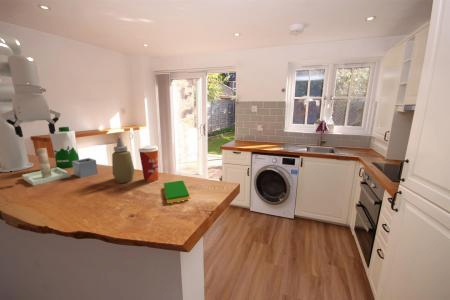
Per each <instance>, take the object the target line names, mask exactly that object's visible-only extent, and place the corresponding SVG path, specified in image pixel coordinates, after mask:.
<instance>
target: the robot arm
mask: <svg viewBox="0 0 450 300" xmlns="http://www.w3.org/2000/svg"><path fill="white" fill-rule="evenodd" d="M22 51H23V49H22V46H21V43H20V41H19V40H18V39H17V38H16V37H14V36H13V35H10V34H5V33H2V32H1V33H0V164H1V167H0V173H10V171H12V172H17V171H23V170H27V169H30V168H32V167H34V162H30V161H29V157H28V153H27V148H26V144H25V140H24V134H23V130H22V127H21V126H20V125H21V124H25V123H34V122H38V121H46V122H48V130H49V133H51V134H55V133H54V132H56V126H55V125H56V123H57V122H58V121H59V118H60V117H61V113H60V112H58V111H55V110H52V109H50V107H49V104H48V100H47V98H46V97H45V96H46V95H44V94H43V93H46V92H47V90H46V88H44V87H42V86H41V84H40V76H39V71H38V67H37V62H36V60H35V58H33V57H30V56H27V55H22ZM1 77H6V78H11V81H12V83H11V82H4V81H3V80H2V78H1ZM51 115H54V117H53V118H52V116H51Z"/></svg>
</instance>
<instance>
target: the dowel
mask: <svg viewBox="0 0 450 300" xmlns="http://www.w3.org/2000/svg"><path fill="white" fill-rule="evenodd" d="M47 149H48V148H47V147H43V148H37V149H36V153H37V158H38V163H39V168H40V171H41V173H42V178H48V177H51V176H52V174H51V169H52V168H51V165H50V161H49V160H50V159H49V155H48V150H47Z"/></svg>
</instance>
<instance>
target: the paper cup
mask: <svg viewBox="0 0 450 300" xmlns="http://www.w3.org/2000/svg"><path fill="white" fill-rule="evenodd" d="M138 152H139V157H140V164H141V169H142V175H143V179H144V180H143V181H144V182H146V181H147V182H148V183H151V182H150V181H152V182H156V181H158V180H159V147H158V145H154V144H150V145H142V146H140V147H139V148H138ZM155 180H156V181H155Z"/></svg>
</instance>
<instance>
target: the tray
mask: <svg viewBox="0 0 450 300" xmlns="http://www.w3.org/2000/svg"><path fill="white" fill-rule="evenodd" d="M50 169H51V174H52V176H51V177H48V178H42V173H41V170H39V171H34V172H29V173H25V174H24V173H23V174H22V175H21V176H22V179H23V180H24V181H26V182H27V183H28V184H30V185H31V186H32V187H37V186H39V185H44V184H48V183H53V182H55V181H61V180H63V179H68V178H71V177H72V176H71V172H70V171H67V170H65V169H64V168H58V167H57V166H56V167H52V168H50Z"/></svg>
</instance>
